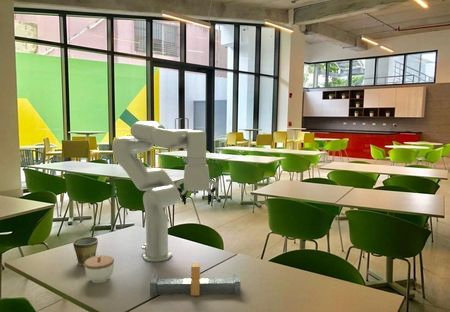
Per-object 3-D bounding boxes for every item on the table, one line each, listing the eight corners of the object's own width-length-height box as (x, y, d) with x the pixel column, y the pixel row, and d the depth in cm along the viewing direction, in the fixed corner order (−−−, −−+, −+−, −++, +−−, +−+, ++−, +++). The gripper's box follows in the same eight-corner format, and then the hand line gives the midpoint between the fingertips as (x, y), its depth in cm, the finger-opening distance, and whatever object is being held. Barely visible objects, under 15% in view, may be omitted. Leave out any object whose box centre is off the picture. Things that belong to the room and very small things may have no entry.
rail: (150, 296, 130) (150, 282, 129) (153, 288, 136) (152, 275, 135) (240, 294, 131) (240, 281, 131) (239, 286, 137) (239, 274, 137)
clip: (199, 295, 130) (199, 269, 129) (190, 295, 130) (190, 269, 128) (200, 284, 138) (200, 260, 136) (192, 284, 138) (192, 260, 136)
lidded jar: (85, 288, 136) (84, 264, 135) (84, 276, 146) (83, 253, 144) (115, 283, 140) (114, 259, 139) (113, 271, 150) (112, 249, 148)
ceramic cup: (99, 265, 155) (98, 243, 154) (74, 269, 152) (72, 246, 150) (97, 254, 167) (97, 233, 166) (74, 257, 164) (73, 236, 162)
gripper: (173, 163, 141) (174, 206, 143) (218, 163, 142) (218, 206, 144) (175, 160, 148) (176, 201, 150) (218, 160, 149) (218, 201, 151)
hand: (196, 203), depth 147 cm, fingers open, 9 cm apart
